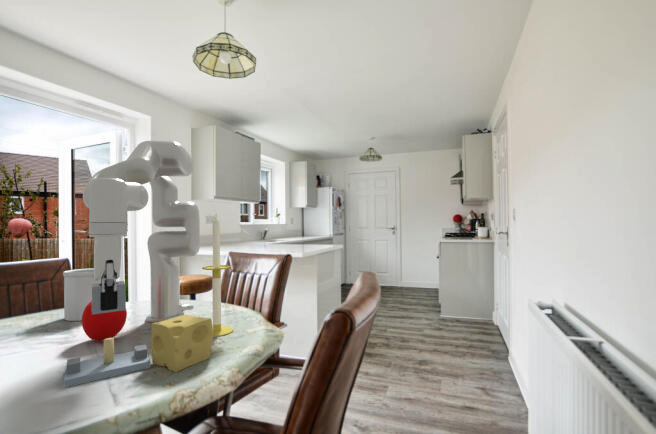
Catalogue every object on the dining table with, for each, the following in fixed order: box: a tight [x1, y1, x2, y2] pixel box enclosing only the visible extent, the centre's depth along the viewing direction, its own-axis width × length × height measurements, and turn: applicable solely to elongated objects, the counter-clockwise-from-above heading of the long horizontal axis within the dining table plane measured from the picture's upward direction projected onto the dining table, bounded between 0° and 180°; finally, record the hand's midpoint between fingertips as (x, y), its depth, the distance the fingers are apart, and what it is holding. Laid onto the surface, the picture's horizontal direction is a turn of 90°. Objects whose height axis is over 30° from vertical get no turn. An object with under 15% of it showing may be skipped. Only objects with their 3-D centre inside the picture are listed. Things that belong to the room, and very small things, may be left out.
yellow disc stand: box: [201, 214, 234, 338], centre depth 106 cm, size 10×10×38 cm
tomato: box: [81, 301, 128, 342], centre depth 100 cm, size 11×11×13 cm
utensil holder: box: [62, 267, 101, 322], centre depth 127 cm, size 15×15×18 cm
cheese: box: [151, 314, 213, 373], centre depth 84 cm, size 10×11×10 cm
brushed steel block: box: [92, 280, 127, 315], centre depth 79 cm, size 6×6×6 cm
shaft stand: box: [63, 337, 151, 388], centre depth 79 cm, size 16×10×7 cm, turn 126°
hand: (108, 306), depth 79 cm, fingers closed on brushed steel block, 6 cm apart
